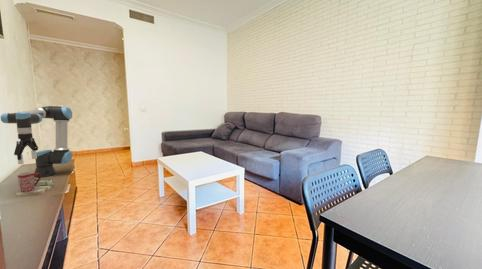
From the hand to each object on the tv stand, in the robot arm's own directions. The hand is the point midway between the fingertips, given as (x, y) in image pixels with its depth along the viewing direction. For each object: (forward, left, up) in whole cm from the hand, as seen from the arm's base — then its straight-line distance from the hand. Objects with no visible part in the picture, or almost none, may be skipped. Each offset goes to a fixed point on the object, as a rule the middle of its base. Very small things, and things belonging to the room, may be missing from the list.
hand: (27, 161), depth 159 cm
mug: (+1, +1, -22) cm, 22 cm away
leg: (-8, +2, -22) cm, 23 cm away
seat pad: (+1, 0, -22) cm, 22 cm away
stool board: (-3, +2, -24) cm, 24 cm away
